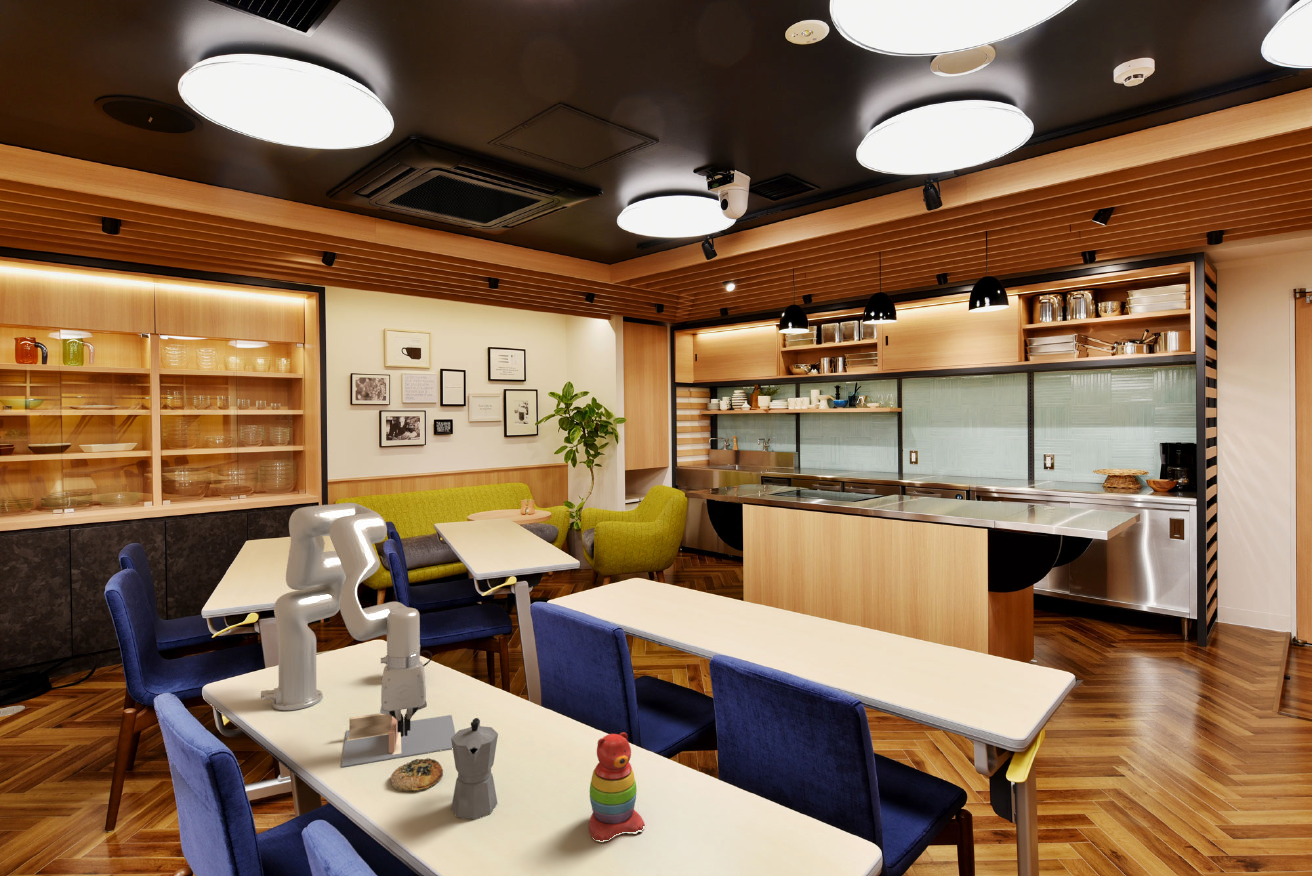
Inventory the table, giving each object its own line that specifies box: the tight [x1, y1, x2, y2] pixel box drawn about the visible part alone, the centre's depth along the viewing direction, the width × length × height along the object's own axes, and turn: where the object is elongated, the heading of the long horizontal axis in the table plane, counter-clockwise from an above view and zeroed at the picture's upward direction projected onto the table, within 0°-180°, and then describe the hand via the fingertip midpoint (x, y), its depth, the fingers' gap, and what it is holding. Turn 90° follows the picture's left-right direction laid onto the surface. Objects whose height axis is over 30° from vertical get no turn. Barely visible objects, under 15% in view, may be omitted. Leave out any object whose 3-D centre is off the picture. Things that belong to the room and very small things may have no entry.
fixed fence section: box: [348, 712, 393, 740], centre depth 168 cm, size 12×1×5 cm, turn 112°
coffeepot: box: [451, 717, 499, 820], centre depth 139 cm, size 15×9×18 cm, turn 13°
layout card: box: [340, 714, 456, 768], centre depth 166 cm, size 26×19×1 cm
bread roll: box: [390, 757, 444, 792], centre depth 148 cm, size 11×11×5 cm
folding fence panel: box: [389, 716, 399, 753], centre depth 164 cm, size 11×1×5 cm, turn 16°
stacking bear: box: [588, 732, 646, 841], centre depth 132 cm, size 11×10×18 cm
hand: (403, 733), depth 162 cm, fingers closed
